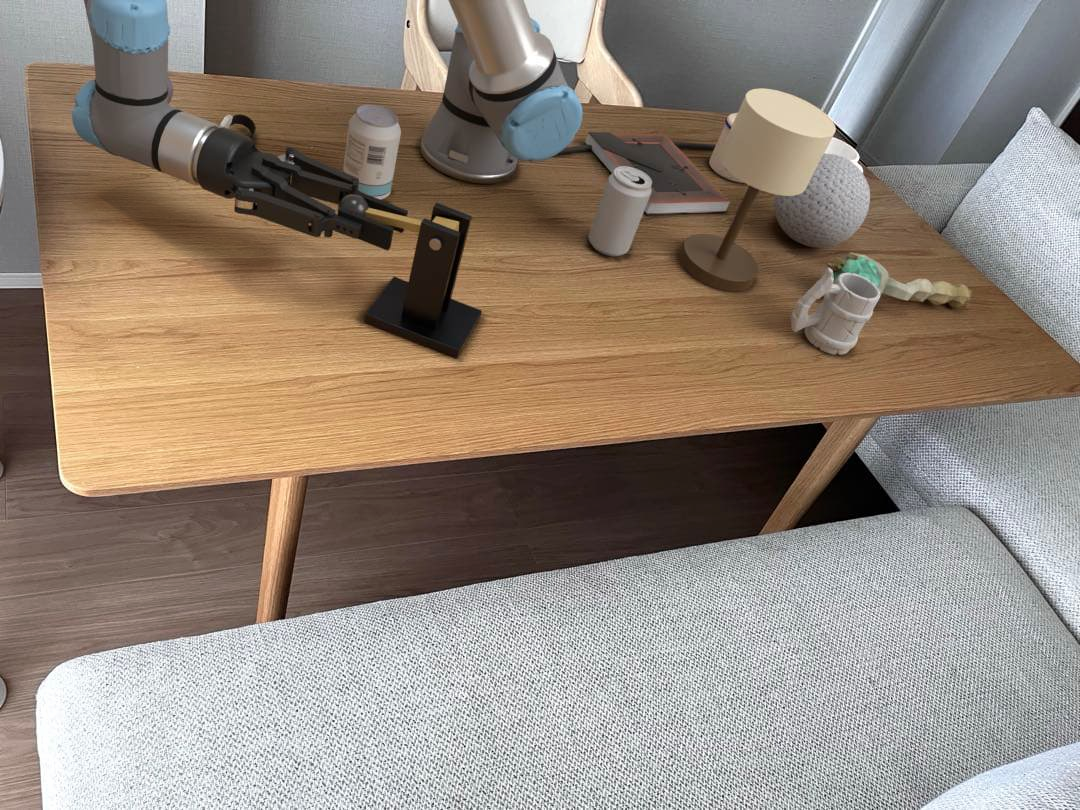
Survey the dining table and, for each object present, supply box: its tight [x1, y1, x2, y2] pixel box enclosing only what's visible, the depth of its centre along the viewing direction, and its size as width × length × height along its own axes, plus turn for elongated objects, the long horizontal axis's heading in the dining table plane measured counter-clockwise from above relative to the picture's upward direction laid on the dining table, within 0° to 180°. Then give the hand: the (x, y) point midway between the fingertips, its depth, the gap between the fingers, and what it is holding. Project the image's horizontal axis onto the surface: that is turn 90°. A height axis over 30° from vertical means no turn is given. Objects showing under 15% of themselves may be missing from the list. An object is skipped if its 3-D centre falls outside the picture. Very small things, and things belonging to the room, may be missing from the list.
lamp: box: [679, 87, 837, 293], centre depth 132 cm, size 13×13×26 cm
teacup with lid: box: [708, 112, 745, 184], centre depth 164 cm, size 12×9×12 cm
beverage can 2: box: [588, 166, 652, 257], centre depth 132 cm, size 6×6×12 cm
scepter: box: [827, 252, 973, 308], centre depth 146 cm, size 9×8×30 cm
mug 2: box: [790, 267, 881, 356], centre depth 129 cm, size 8×12×12 cm, turn 102°
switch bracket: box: [363, 202, 483, 359], centre depth 107 cm, size 12×9×15 cm
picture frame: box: [584, 131, 731, 215], centre depth 156 cm, size 16×2×22 cm
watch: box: [218, 113, 257, 141], centre depth 129 cm, size 8×5×4 cm, turn 169°
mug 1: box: [824, 136, 864, 174], centre depth 164 cm, size 11×9×10 cm
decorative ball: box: [773, 154, 871, 248], centre depth 150 cm, size 15×15×15 cm
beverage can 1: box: [342, 104, 402, 200], centre depth 125 cm, size 7×7×12 cm
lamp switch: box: [337, 194, 459, 233], centre depth 104 cm, size 14×4×4 cm, turn 75°
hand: (397, 230), depth 105 cm, fingers closed on lamp switch, 4 cm apart
